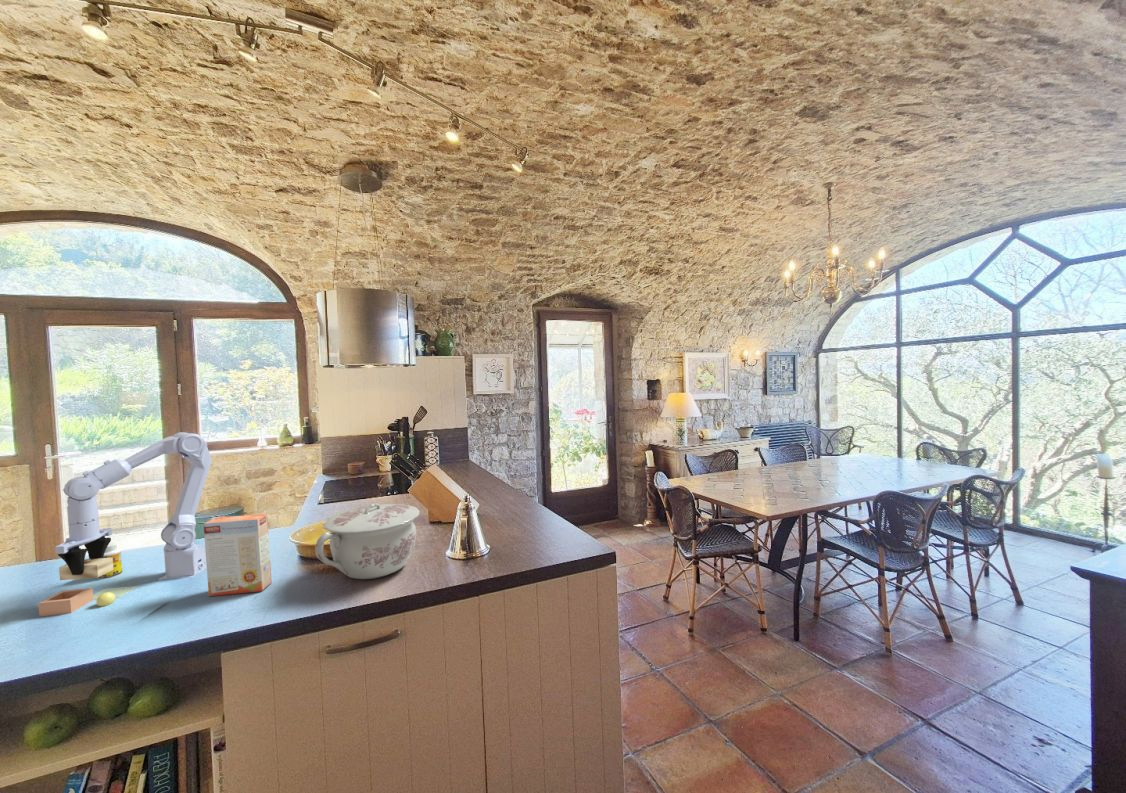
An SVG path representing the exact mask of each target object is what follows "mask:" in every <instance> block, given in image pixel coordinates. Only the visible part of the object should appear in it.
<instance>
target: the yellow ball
mask: <svg viewBox="0 0 1126 793" xmlns="http://www.w3.org/2000/svg"><path fill="white" fill-rule="evenodd" d="M115 600H116V598H115V595H114V594H113V593H111V592H106V593H103V594H101V595H100V596H99V597H98V598H97V600H95V601H96V605H97V606H98V607H105V606H109V605H111V604H113V603H115Z"/></svg>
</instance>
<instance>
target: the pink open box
mask: <svg viewBox="0 0 1126 793" xmlns="http://www.w3.org/2000/svg"><path fill="white" fill-rule="evenodd" d="M93 595H94V587H87V588H78V589H65V590H61V591H59V592H57V593H55V594H54V595H51V596H50V597H48V598H46V599H44V600H42V601H40V602H38V606H37V607H38V613H39V614H38V615H39V617H46V616H54V615H65V614H72V613H73V612H76V611H77V610H79V609H81V608H83V607H85V606H87V604H90V603H91V602H92V601H94V597H93Z"/></svg>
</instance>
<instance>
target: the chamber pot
mask: <svg viewBox="0 0 1126 793" xmlns="http://www.w3.org/2000/svg"><path fill="white" fill-rule="evenodd" d="M420 513H421V510H419V508H417V507H416V506H413V505H411V504H402V503H378V502H376V503H375V502H374V503H371V504H369V505H365V506H364V505H363V506H360V507H359V506H358V507H355V508H352V509H348V510H345V511H343V512H339V513H337V514H335V515H332V516H330V517H329V518H327V519H326V520H325V522H324V523H322V526H323V529H325V531H324V532H323V533H322V534H321V535H320V536H319V537H318V538H317V540H316V543H315V546H314V548H315V549H314V551H315V556H316V558H317V559H318V560H320V562H322V563H323V564H325V565H327V566H330V567H334V568H335V569H337V570H338V571H340V572H341V573H343V574H344V575H345V576H347V577H348V578H350V579H356V580H373V579H379V578H382V577H386V576H388V575H390V574H394V573H396V572H397V571H399V570H400V569H402V568H403V567H404V566H405V565H406V564H407V562H408V561H409V558H410V557H411V555H412V554H413V552H414V548H415V544H416V537H417V526H416V524H415V523H414V520H415V519H416V518H418V517H419V516H420ZM328 540H329V549H330V552H331V556H332V560H330V559H329V558H328V557H326V555H325V553H324V546H325V543H326V542H327V541H328Z"/></svg>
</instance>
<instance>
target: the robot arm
mask: <svg viewBox="0 0 1126 793" xmlns="http://www.w3.org/2000/svg"><path fill="white" fill-rule="evenodd" d="M168 454H171V455H172V454H173V455H174V454H180V455H181V456H183V457H184V459H185V460H186V461H187V462H188V463H189V466H188V469H187V473H186V476H185V479H184V482H183V485H182V489H181V491H180V494H179V498H178V501H177V504H176V506H175V509H174V513H173V515H172V516H171V517H170V518H169V520H168V523H167V524H166V525H165V527H164V528H163V529H162V530H161V533H160V538H161V540H162V541H163V542H164V543H165V545H164V547H163V555H164V556H163V557H164V568H165V575H164V576H162V577H160V578H158V581H163V580H174V579H185V578H192V577H194V576H196V575H197V574H199V573H200V572H203V571H204V570H206V569H207V565H206V551H205V545H201V544H195V540H196V537H197V535H196V534H197V533H196V530H195V529H196V526H197V522H196V521H197V520H196V517H195V516H196V513H197V510H198V507H199V505H200V504H199V503H200V500H201V498H202V493H203V491H204V487H205V484H206V481H207V478H208V476H209V472H210V468H211V465H212V461H213V460H212V456H211V454H210V450H209V449H208V442H207V441H206V440H205V439H204V438H203V437H202V436H201V435H200V434H197V433H189V432H187V431H186V432H184V431H182V432H181V431H180V432H176V433H174V434H173V435H170V436H167V437H164V438H163V439H161V440H158V441H157V442H154V443H153V444H151V445H149V446H148V447H145V448H144V449H142V450H140V451H139V452H136V453H134V454H132V455H131V456H129V457H126V458H125V459H115V458H114V459H113V460H109V459H107V460H105V461H103V465H100V466H99V467H97V468H94V469H92V470H90V471H84V472H83V473H82V475H83V476H75V477H73V478H70V479H69V480H68V481H67V482H66V483H65V485H64V488H62V491H63V493H64V494H65V495H66V496H67V500H66V503H67V506H66V510H67V526H68V536H69V537H68V538H66V539H65V541H64V542H62V543H60V544H59V545H56V546H55V547H54V550H55V555H57V556H59V558H61V559H62V560H63V561H64V562H65V565H66V564H67V565H68V567H69V569H70V571H71V573H72V575H81V574H83V572H84V559H86V555H88V559H98V558H103V556H104V553H105V550H106V548H107V546H108V544H109V543H111V541H112V538H111V537H109V536H112V535H113V533H112V528H111V527H108V528H100V521H99V520H100V519H99V504H98V501H97V495H98V493H99V492H100V490H104V489H106V488H108V487H109V486H111V485H113V484H116V483H118V482H119V481H121V480H123V479H126V478H127V477H129V476H130V474H131V472H132V469H134V468H137V467H138V466H142V465H144V464H145V463H148V462H150V461H153V460H154V459H156V458H158V457H160V456H163V455H168ZM82 546H84V547H85V548H81V547H82Z"/></svg>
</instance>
